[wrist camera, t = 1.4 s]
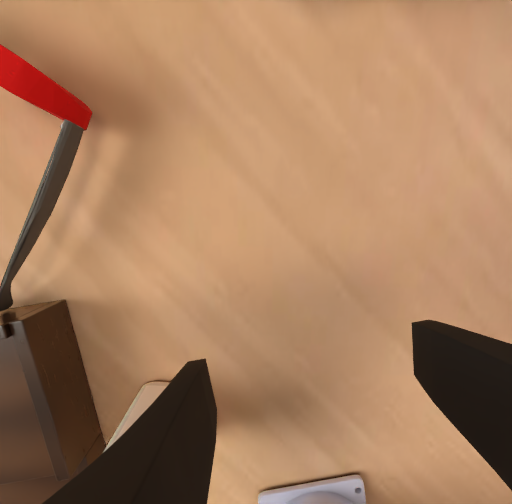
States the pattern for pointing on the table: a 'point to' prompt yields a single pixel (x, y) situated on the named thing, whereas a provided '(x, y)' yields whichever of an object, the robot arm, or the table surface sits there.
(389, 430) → the table surface
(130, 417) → the eye dropper bottle
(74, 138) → the novelty glasses
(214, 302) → the table surface
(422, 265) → the table surface
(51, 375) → the step shelf
